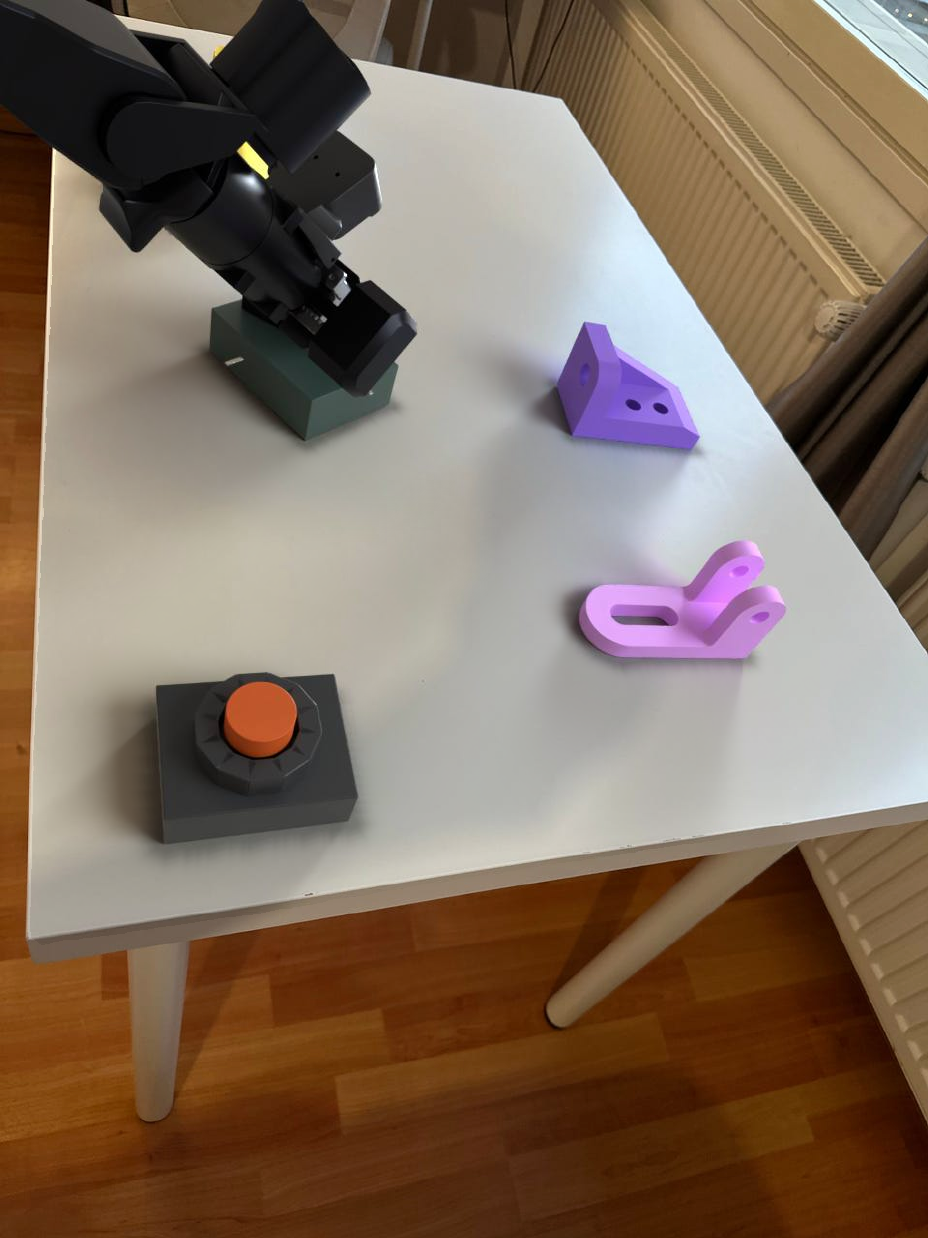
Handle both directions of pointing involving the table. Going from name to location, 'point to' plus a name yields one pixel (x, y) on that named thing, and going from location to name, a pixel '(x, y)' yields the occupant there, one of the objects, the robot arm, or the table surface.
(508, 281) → the table surface
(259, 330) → the dark green flat block
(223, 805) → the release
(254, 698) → the release button
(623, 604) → the bracket
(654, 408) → the bracket
